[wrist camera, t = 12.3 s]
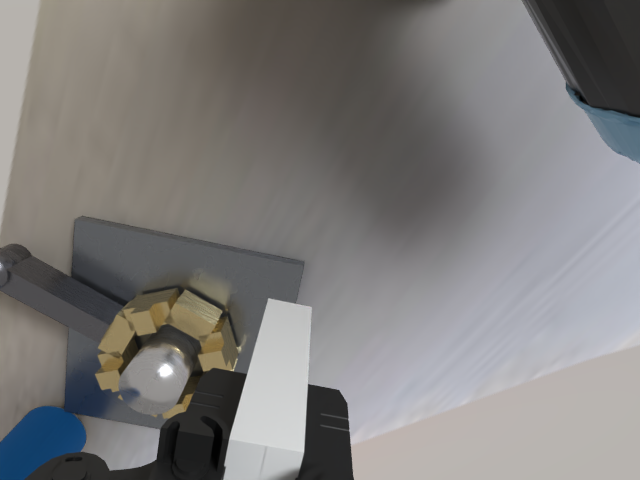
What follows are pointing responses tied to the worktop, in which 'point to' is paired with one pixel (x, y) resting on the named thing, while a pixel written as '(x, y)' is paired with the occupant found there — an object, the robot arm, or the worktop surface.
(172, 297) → the grey lever
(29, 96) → the worktop surface
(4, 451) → the beverage can
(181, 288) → the base plate
